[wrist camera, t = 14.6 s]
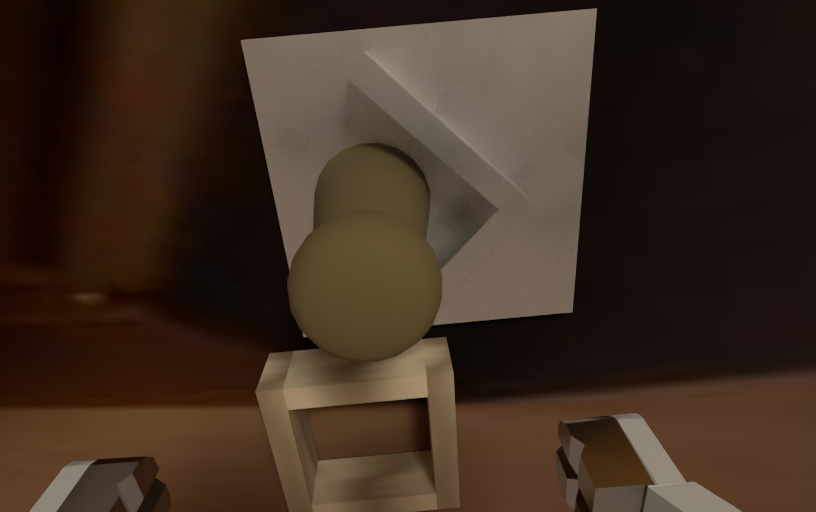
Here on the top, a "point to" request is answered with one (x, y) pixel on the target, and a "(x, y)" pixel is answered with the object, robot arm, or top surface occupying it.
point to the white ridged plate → (446, 142)
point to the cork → (367, 257)
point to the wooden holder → (369, 475)
